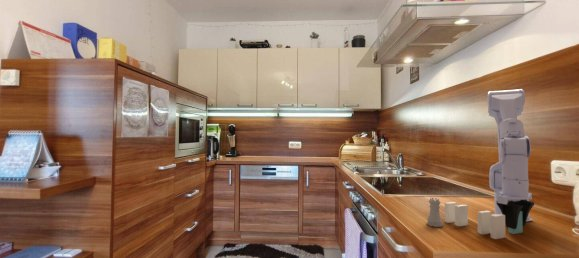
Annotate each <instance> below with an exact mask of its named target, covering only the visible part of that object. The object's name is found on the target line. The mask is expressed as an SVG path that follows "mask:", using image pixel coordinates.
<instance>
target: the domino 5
mask: <svg viewBox="0 0 579 258" xmlns="http://www.w3.org/2000/svg"><path fill="white" fill-rule="evenodd" d="M523 228H524V227H523V221H522V211H520V213H519V217H518V224H517V228H516V229H512V228H509V227H508V233H509V234H513V235H514V234H515V235H516V234H522V233H523V232H524V231H523V230H524V229H523Z"/></svg>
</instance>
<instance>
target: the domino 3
mask: <svg viewBox="0 0 579 258" xmlns="http://www.w3.org/2000/svg"><path fill="white" fill-rule="evenodd" d="M476 213H477V215H476V216H477V217H476V218H477V234H479V235H488V234H491V225H490V215H492V214H493V213H492V211H490V210H480V211H477V212H476Z"/></svg>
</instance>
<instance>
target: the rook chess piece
mask: <svg viewBox="0 0 579 258" xmlns="http://www.w3.org/2000/svg"><path fill="white" fill-rule="evenodd" d="M428 203H429V214H428V217H427V218H426V220H427V221H426V224H427V225H428V226H430V227H434V228H442V227H443V226H444V223H443V219H442V217H441V214H440V208H441V207H440V204H441V201H440V199H439V198H437V197H436V198H434V197H430V198H429V200H428Z"/></svg>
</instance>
